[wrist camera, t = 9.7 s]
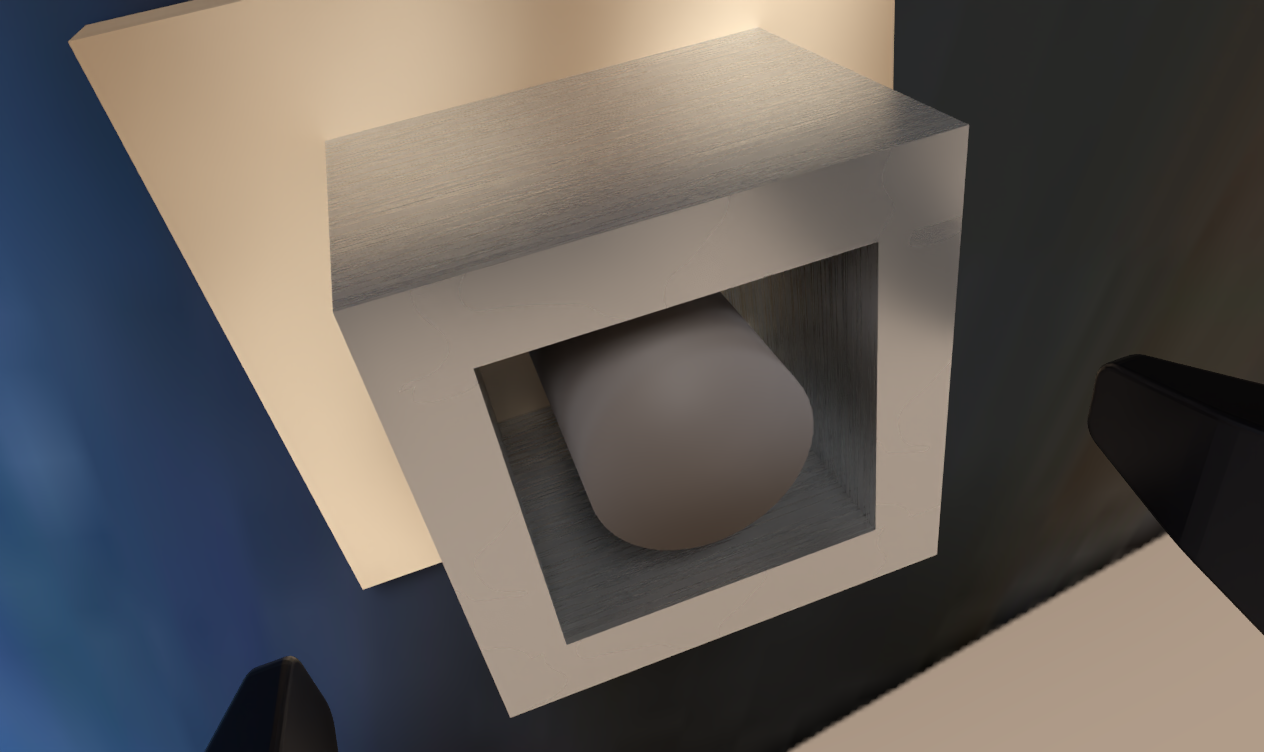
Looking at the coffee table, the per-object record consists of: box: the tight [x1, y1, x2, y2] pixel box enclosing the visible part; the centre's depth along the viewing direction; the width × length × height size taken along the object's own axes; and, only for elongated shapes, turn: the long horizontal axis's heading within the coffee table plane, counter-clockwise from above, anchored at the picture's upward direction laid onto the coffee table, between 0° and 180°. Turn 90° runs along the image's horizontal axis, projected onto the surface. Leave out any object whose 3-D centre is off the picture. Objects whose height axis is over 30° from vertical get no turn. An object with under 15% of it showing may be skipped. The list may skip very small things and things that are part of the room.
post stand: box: [68, 0, 895, 589], centre depth 12 cm, size 11×10×6 cm
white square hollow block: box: [325, 27, 969, 718], centre depth 12 cm, size 6×6×5 cm
